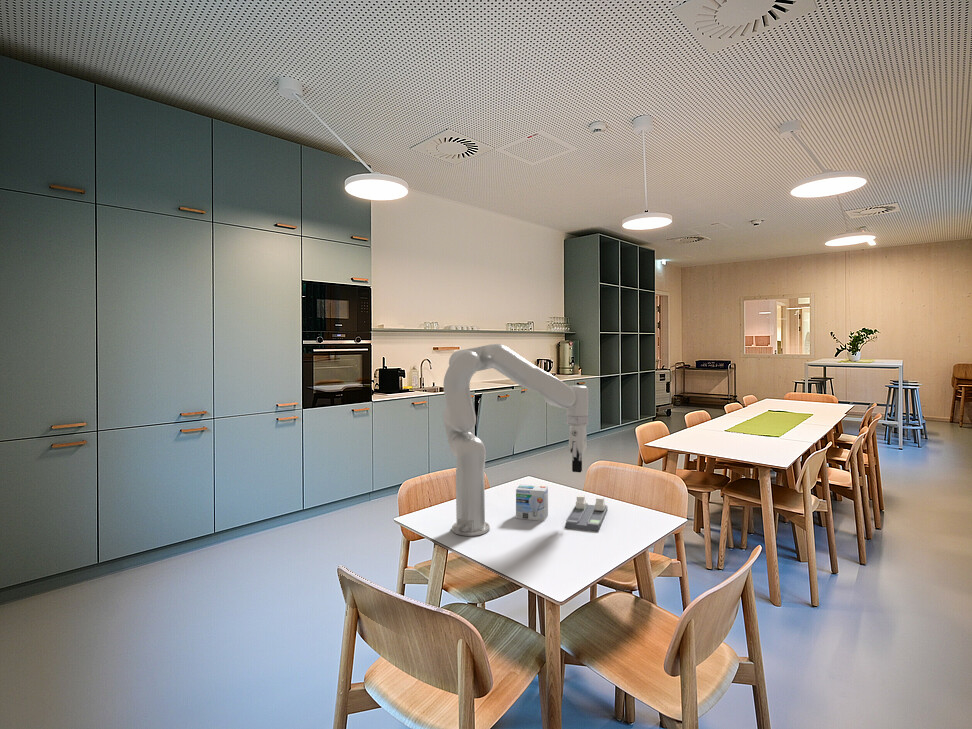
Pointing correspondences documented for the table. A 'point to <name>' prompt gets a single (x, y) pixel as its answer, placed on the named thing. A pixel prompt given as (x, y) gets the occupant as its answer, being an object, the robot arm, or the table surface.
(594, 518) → the switch board
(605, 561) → the table surface
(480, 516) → the robot arm
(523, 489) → the light bulb box
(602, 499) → the tab
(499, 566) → the table surface
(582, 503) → the tab
